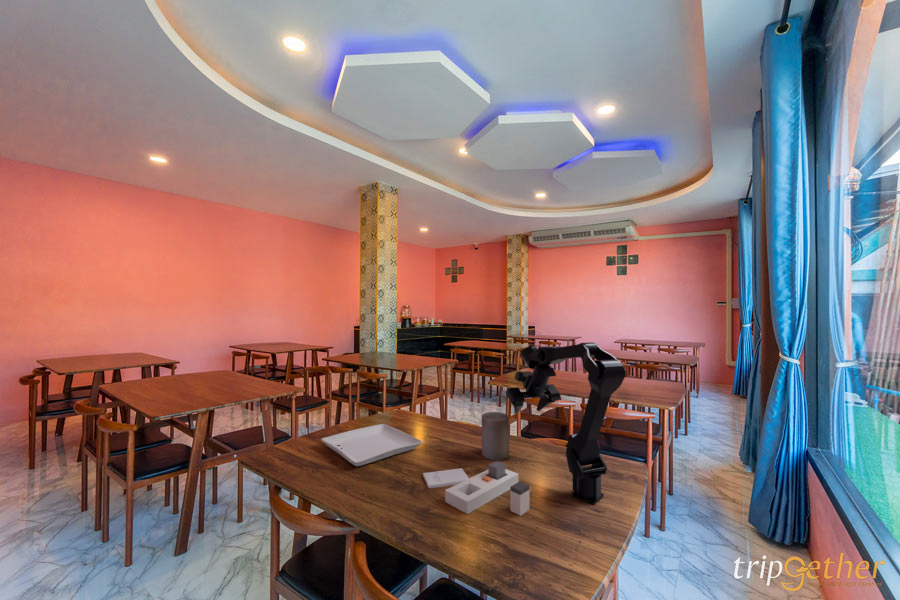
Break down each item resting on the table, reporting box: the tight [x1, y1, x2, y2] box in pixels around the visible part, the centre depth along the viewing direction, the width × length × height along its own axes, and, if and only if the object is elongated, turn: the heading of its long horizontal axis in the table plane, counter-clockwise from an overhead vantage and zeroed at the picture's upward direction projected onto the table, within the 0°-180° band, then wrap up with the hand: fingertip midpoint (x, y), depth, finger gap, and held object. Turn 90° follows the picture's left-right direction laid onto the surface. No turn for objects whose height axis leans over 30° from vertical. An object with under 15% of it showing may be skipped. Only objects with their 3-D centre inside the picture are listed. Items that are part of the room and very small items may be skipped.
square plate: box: [320, 423, 423, 467], centre depth 131 cm, size 27×27×4 cm
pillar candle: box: [481, 411, 510, 461], centre depth 126 cm, size 10×10×15 cm
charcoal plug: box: [488, 460, 506, 480], centre depth 104 cm, size 3×4×6 cm
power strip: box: [444, 468, 519, 515], centre depth 100 cm, size 8×22×4 cm, turn 135°
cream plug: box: [509, 481, 530, 516], centre depth 91 cm, size 3×4×6 cm
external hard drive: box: [422, 467, 470, 489], centre depth 107 cm, size 2×8×12 cm
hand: (526, 411), depth 127 cm, fingers open, 9 cm apart
